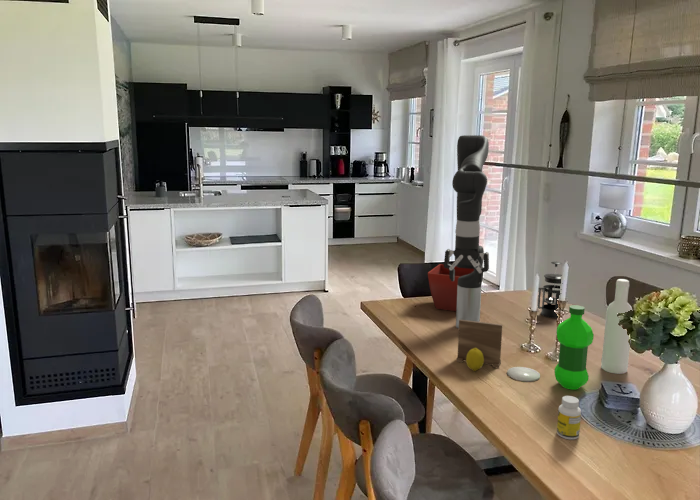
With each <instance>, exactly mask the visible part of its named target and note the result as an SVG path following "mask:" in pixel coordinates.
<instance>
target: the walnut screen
mask: <svg viewBox="0 0 700 500" xmlns="http://www.w3.org/2000/svg"><path fill="white" fill-rule="evenodd" d="M502 337H503V324H501V323H500V324H499V323H493V322H485V321H480V322H477V321H469V320H461V319H460V320H459V329H458V339H457V341H458V342H457V358H456V359H455V362H456V363H460V364H461V363H463V362H466V357H467V353H468V352H469V351H470V350H471V349H474V348H477V349H479V350H480V351H481V352H482V353H483V357H484V363H483V365H491V366H492V368H496V369H500V366H501V362H502V358H501V355H502V354H501V353H502V342H503V341H502V340H503V338H502Z"/></svg>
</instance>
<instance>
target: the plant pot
mask: <svg viewBox="0 0 700 500" xmlns="http://www.w3.org/2000/svg"><path fill="white" fill-rule="evenodd" d="M454 269H455V279H454V281H451V279H450V278H449V272H450V271H449V269H447V268H444V263H440V264H438V265H437V266H435V267H433V268H432V269H431V270H429V271H428V272H427V279H428V285H429V289H430V290H429V291H430V295H431V298H432V302H433V304H434V308H435V309H437V310H444V311H450V312H456V309H457V285H458V278H459V277H461V276H464V275H468V274H470V273H472V272H473V271H474V269H467V268H458V267H457V266H455V268H454Z"/></svg>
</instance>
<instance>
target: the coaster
mask: <svg viewBox="0 0 700 500" xmlns="http://www.w3.org/2000/svg"><path fill="white" fill-rule="evenodd" d="M506 374H507V376H508V377H509V378H511V379H513V380H515V381H520V382H536V381H538V380H540V378H541V374H540V372H538V370H536V369H533V368H530V367H525V366H514V367H510V368H508V369H507V372H506Z"/></svg>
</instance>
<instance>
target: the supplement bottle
mask: <svg viewBox="0 0 700 500" xmlns="http://www.w3.org/2000/svg"><path fill="white" fill-rule="evenodd" d="M579 406H580V400H579V399H578V397H575V396H572V395H564V396H562V397H561V404H560V405H559V406H558V410H557V411H558V412H557V425H556V433H557V435H558V436H560V437H561V438H562V439H565V440H571V441H573V440H577V439H578V438H579V437H580V430H581V429H580V428H581V421H582V420H581V417H582V410H581V408H580V407H579Z"/></svg>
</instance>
